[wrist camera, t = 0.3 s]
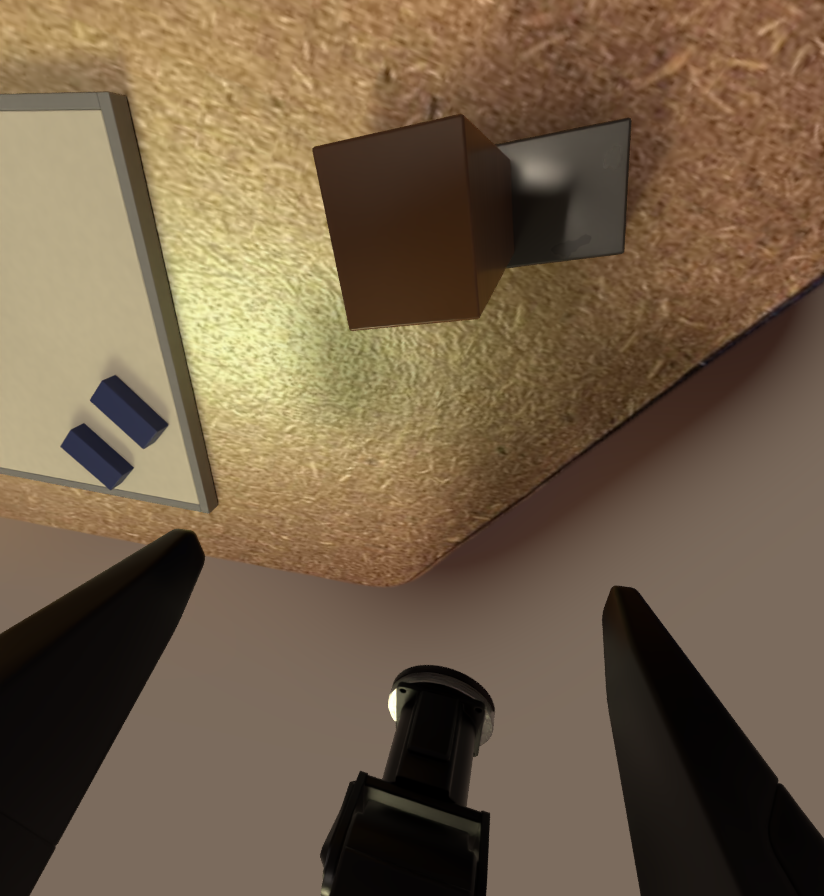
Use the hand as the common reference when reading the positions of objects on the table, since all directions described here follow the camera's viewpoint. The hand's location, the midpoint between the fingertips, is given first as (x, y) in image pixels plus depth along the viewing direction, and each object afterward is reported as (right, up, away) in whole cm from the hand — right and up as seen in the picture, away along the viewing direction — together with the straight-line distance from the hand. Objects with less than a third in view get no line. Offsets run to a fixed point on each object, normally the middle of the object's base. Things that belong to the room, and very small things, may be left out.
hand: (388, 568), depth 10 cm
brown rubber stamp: (+4, +12, +9) cm, 16 cm away
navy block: (-19, +2, +20) cm, 28 cm away
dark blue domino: (-16, +5, +18) cm, 24 cm away
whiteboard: (-22, +10, +18) cm, 30 cm away
